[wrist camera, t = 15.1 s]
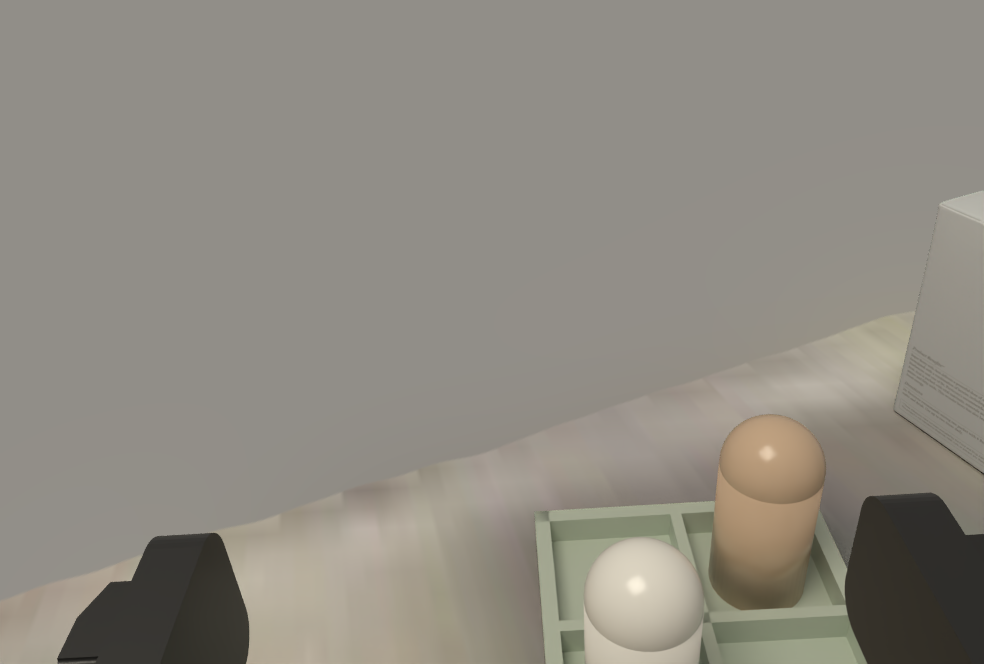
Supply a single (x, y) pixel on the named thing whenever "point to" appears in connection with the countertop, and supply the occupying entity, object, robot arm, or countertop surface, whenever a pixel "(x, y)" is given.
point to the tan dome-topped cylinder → (765, 512)
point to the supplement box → (950, 335)
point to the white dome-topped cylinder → (642, 605)
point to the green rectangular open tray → (726, 630)
